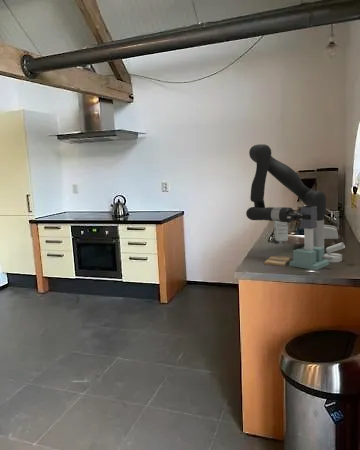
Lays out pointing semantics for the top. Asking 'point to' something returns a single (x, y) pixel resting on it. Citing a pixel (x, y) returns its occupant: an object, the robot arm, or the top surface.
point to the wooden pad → (277, 261)
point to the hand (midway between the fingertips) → (313, 216)
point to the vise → (309, 254)
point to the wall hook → (334, 256)
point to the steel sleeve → (313, 221)
